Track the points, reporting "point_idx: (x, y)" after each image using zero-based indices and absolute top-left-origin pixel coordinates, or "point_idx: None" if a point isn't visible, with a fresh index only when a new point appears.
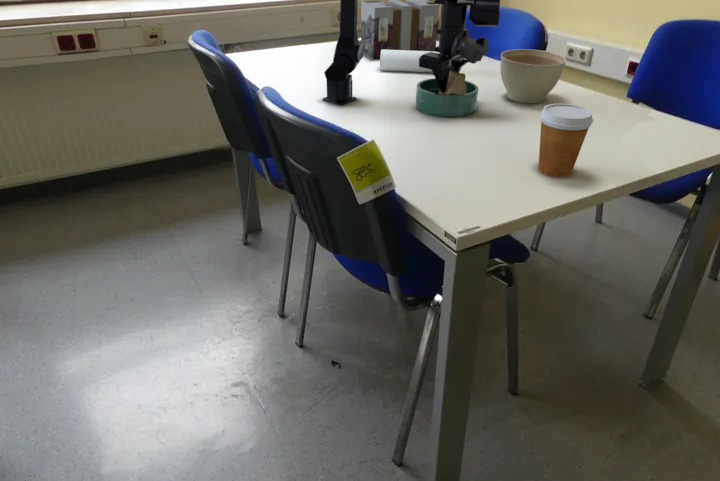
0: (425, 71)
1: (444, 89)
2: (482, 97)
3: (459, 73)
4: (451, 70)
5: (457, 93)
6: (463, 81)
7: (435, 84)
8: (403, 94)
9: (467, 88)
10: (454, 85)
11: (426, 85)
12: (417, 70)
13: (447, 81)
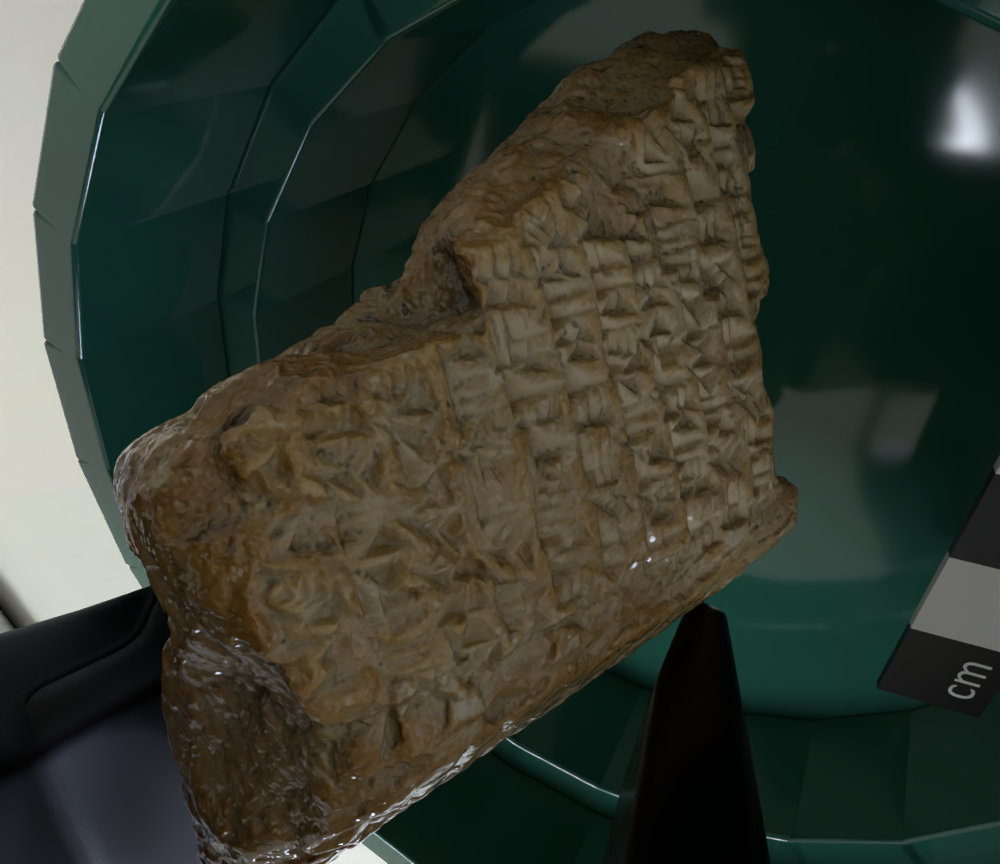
0: None
1: (735, 672)
2: (46, 59)
3: (211, 685)
4: (148, 826)
5: (738, 337)
6: (441, 365)
7: None
8: None
9: (177, 244)
10: (650, 551)
11: (470, 807)
12: None
13: (656, 804)
